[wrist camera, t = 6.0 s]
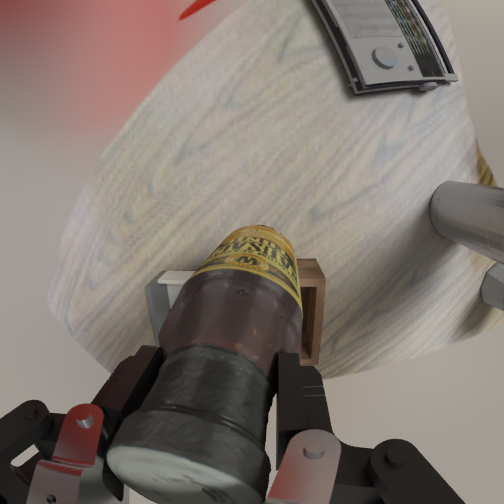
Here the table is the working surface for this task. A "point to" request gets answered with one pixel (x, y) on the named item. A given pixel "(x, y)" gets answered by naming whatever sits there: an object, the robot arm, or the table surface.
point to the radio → (384, 45)
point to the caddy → (311, 308)
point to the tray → (164, 296)
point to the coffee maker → (494, 286)
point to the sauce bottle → (216, 378)
